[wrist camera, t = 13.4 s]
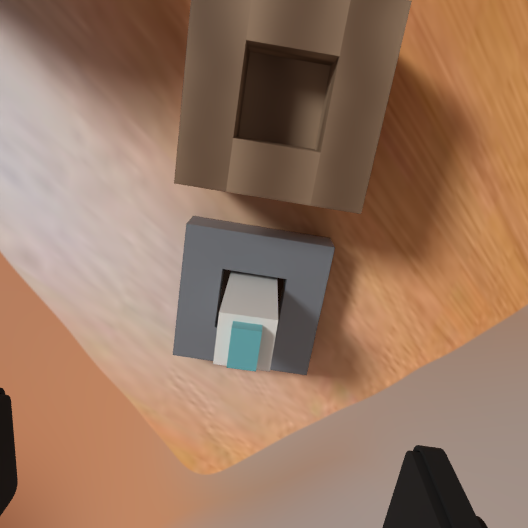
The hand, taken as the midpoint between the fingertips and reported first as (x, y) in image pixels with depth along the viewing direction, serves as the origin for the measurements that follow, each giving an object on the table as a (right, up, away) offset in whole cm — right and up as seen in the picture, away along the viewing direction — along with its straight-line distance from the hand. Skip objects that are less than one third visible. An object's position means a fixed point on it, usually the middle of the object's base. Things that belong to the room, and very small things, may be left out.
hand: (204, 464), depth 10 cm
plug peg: (0, +2, +28) cm, 28 cm away
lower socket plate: (0, +2, +28) cm, 29 cm away
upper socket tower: (+3, +17, +23) cm, 29 cm away
